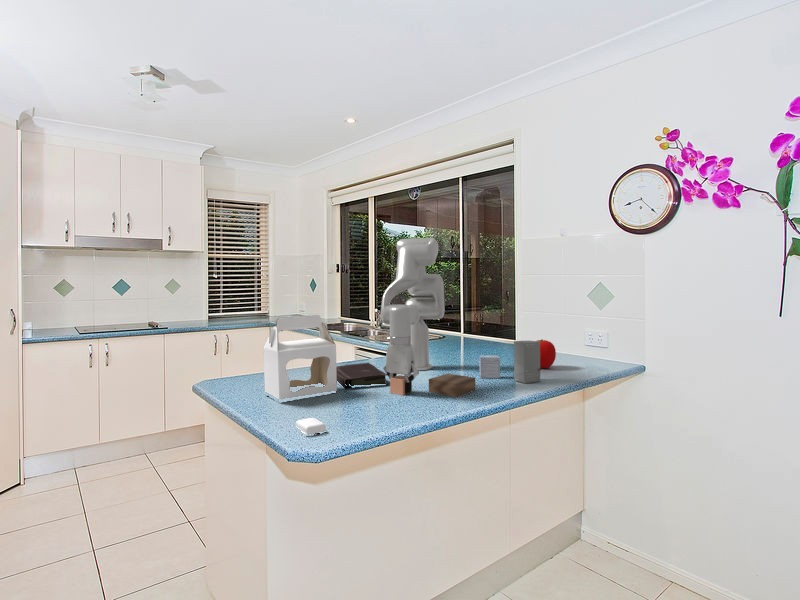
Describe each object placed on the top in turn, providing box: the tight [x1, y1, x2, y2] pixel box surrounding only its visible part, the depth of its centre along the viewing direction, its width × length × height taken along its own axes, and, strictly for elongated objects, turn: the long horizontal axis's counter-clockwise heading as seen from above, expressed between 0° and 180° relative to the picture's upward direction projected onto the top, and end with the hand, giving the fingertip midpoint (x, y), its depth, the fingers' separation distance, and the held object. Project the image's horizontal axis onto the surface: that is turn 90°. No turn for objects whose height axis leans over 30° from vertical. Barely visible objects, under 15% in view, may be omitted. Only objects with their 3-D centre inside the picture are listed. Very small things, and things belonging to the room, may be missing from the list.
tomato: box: [536, 338, 557, 369], centre depth 212 cm, size 11×11×13 cm
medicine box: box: [478, 355, 501, 379], centre depth 195 cm, size 8×4×9 cm, turn 84°
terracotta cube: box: [389, 374, 413, 396], centre depth 172 cm, size 6×6×6 cm
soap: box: [295, 417, 328, 435], centre depth 132 cm, size 9×7×3 cm
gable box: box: [263, 314, 338, 399], centre depth 171 cm, size 22×13×28 cm, turn 126°
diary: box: [336, 362, 390, 388], centre depth 192 cm, size 19×25×5 cm
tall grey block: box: [513, 340, 541, 384], centre depth 187 cm, size 8×7×16 cm
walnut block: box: [428, 373, 476, 398], centre depth 173 cm, size 12×12×5 cm
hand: (401, 391), depth 172 cm, fingers closed on terracotta cube, 5 cm apart
